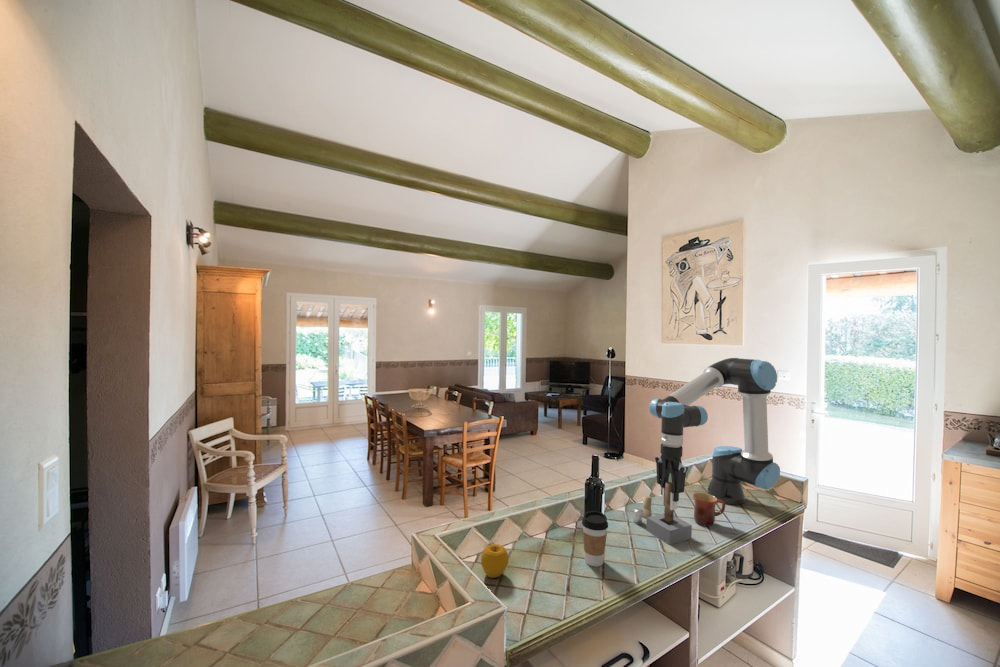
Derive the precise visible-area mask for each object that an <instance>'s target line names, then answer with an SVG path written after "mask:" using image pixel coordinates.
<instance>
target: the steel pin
mask: <svg viewBox="0 0 1000 667" xmlns="http://www.w3.org/2000/svg"><path fill="white" fill-rule="evenodd" d="M633 523H634V525H638V526H639V525H643V508H642V509H641V508H638V507H636V508H634V509H633Z"/></svg>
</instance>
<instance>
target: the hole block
mask: <svg viewBox="0 0 1000 667" xmlns="http://www.w3.org/2000/svg"><path fill="white" fill-rule="evenodd" d="M692 530H693V525H692V524H691V523H689V522H686V521H685V520H683V519H682V518H680V517H678V516H675V515H674V519H673V523H668V522H666V521H664V513H660V514H656V515H651V517H647V518H646V530H645V531H646V532H648V533H649V534H651V535H653V536H654V537H656V538H657V539H660V540H661V541H662V542H664V543H665V544H668V545H673V544H677V543H681V542H684V541H687V540H690V539H692Z"/></svg>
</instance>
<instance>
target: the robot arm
mask: <svg viewBox="0 0 1000 667" xmlns="http://www.w3.org/2000/svg"><path fill="white" fill-rule="evenodd" d="M777 382H778V373H777V370H776V368H775V366H774V365H773V364H771V362H769V361H767V360H766V361H765V360H760V359H752V358H751V359H750V358H739V357H730V358H724V359H722V360H719V361H717V362H715V363H713V364H711V365H709V366H708V367H706V368H705V369H704V370H703V373H701V374H700V375H698V376H697V377H694V379H692V380H690V381H688V382H687V383H686V384H684V385H683V386H682V387H680V388H679V389H676V390H675V391H674V392H672V393H671V394H669V395H667V396H666V397H664V398H663V399H661V398H654V399H652V400H651V401H650V403H649V406H648V408H649V413H650V414H651V415H652V416H653V417H656V418H658V419H661V429H660V430H661V431H660V432H661V434H660V442H661V444H660V454H661V455H660V456H655V458H654V460H655V462H656V463H655V464H656V483H657V485H660V487H661V489H660V490H661V491H660V495H661V496H662V498H661V506H662V507H665V483H666V482H669V480H670V477H671V482H672V491H671V496H670V510H674V511H675V510H677V509H678V502H679V500H680V497H679V496H680V494H682V493H685V486H686V477H687V472H688V470H689V468H688V466H684V464H683V462H682V457H683V445H684V428H690V427H691V428H692V427H693V428H694V427H700V426H703V425H705V424H706V423H707V421H708V419H709V418H708V417H709V414H708V411H707V410H706V409H705V408H704V407H703V406H701V405H692V404H693V403H694V402H696V401H698V400H699V399H700V398H701V397H703V396H705V395H706V394H708V393H709V392H711V391H713V390H714V389H715V388H716V389H717V388H721V387H722V386H724V385H725V386H726V385H734V386H737V389H738V390H737V391H738V393H739V394H740V395H741V396H742V414H743V419H742V420H743V437H744V438H743V440H744V442H743V443H744V445H743V446H744V449H742V448H741V447H737V446H733V445H722V446H721V445H720V446H715V447H714V448H713V451H712V463H711V466H712V470H711V472H712V473H711V480H710V483H709V485H708V487H707V489H706V491H707V492H706V494H709V495H712V496H714V497H716V498H717V499H720V500H723V501H724V502H725V505H726V504H727V505H736V506H737V505H742V504H744V503H745V502H746V495H745V493H744V489H743V485H742V482H743V483H745V484H748V485H751V486H753V487H755V488H760V489H762V490H770V489H772V488H774V487H775V485H776V484H777V482H778V481H779V479H780V475H781V467H780V466H779V464H778V463H776V462H774V456H773V454H772V453H771V452H769V435H768V434H769V432H768V430H769V428H768V405H767V404H768V403H767V402H768V401H767V400H768V399H767V397H768V396H769V395H770V394H771V390H774V389H775V387H776V386H777Z"/></svg>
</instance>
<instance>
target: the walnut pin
mask: <svg viewBox="0 0 1000 667" xmlns="http://www.w3.org/2000/svg"><path fill="white" fill-rule="evenodd" d="M671 491H672V481H668V482H666V483H665V506H664V521H666V522H668V523H673V519H674V516H675V514H674V513H675V510H670V496H671Z"/></svg>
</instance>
